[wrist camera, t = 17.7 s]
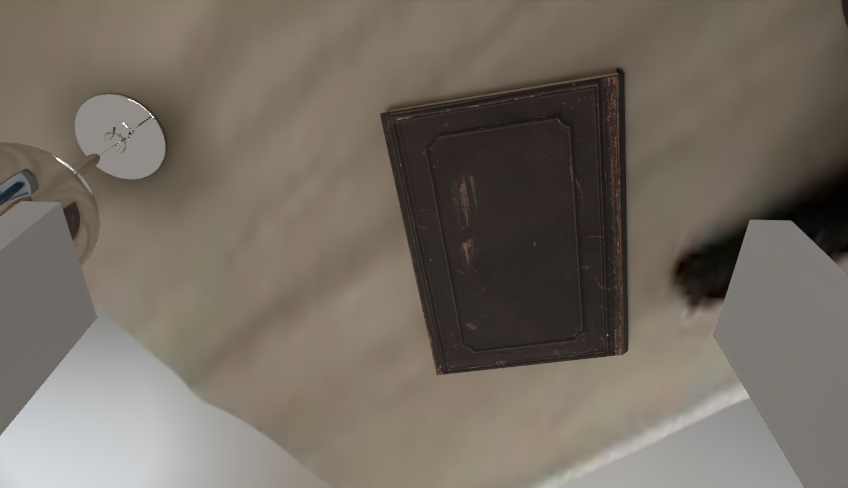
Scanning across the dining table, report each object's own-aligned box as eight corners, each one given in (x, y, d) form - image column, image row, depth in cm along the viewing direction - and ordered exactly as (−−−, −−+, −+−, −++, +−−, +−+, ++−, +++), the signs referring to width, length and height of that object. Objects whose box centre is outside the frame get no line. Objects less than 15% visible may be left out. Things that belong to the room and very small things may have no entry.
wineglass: (99, 54, 41) (-116, 155, 25) (202, 136, 43) (65, 273, 28) (43, 137, 44) (-179, 273, 28) (142, 209, 47) (-11, 369, 31)
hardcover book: (437, 357, 54) (437, 375, 52) (383, 104, 42) (380, 114, 40) (623, 336, 52) (630, 354, 50) (618, 65, 41) (627, 74, 39)
